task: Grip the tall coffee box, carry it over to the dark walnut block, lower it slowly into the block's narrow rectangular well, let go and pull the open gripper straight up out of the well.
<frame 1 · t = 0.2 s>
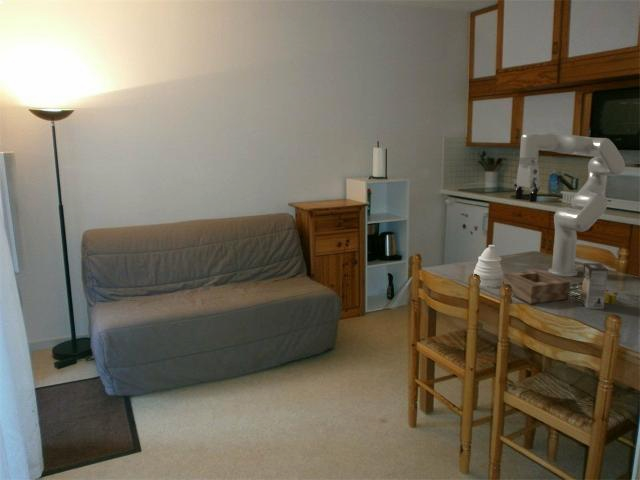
hand: (525, 200, 232), 37 cm above the table, tool pointing down, fingers open, 9 cm apart
coffee box: (591, 305, 204), on the table
honey pot: (487, 283, 234), on the table
well block: (534, 296, 215), on the table
medication box: (602, 300, 210), on the table
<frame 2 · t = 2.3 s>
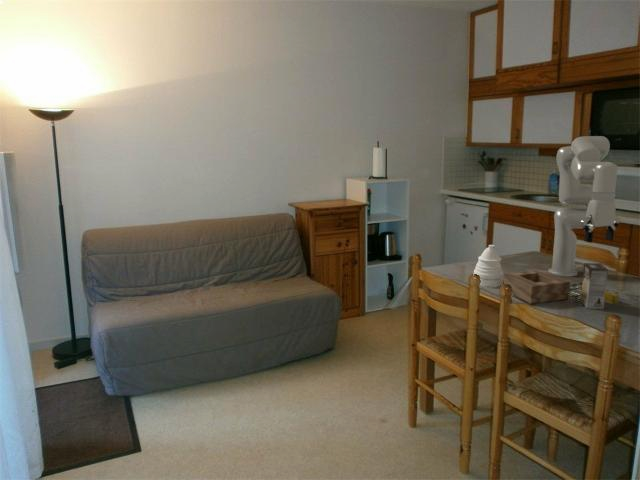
hand: (598, 240, 198), 26 cm above the table, tool pointing down, fingers open, 9 cm apart
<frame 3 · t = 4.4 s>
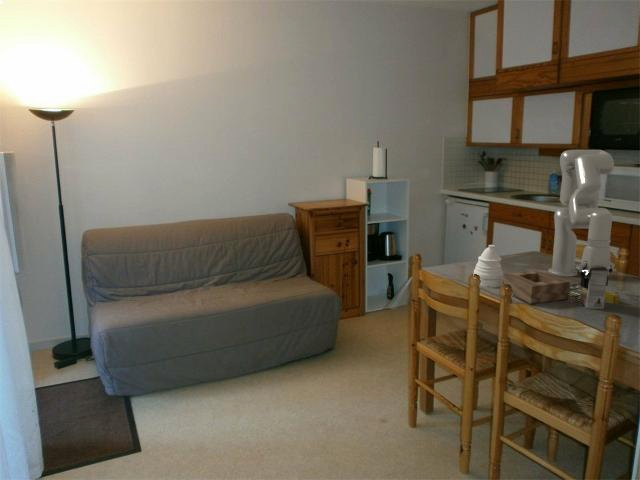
hand: (593, 286, 202), 8 cm above the table, tool pointing down, fingers closed on coffee box, 8 cm apart
coffee box: (591, 305, 204), on the table, touching gripper
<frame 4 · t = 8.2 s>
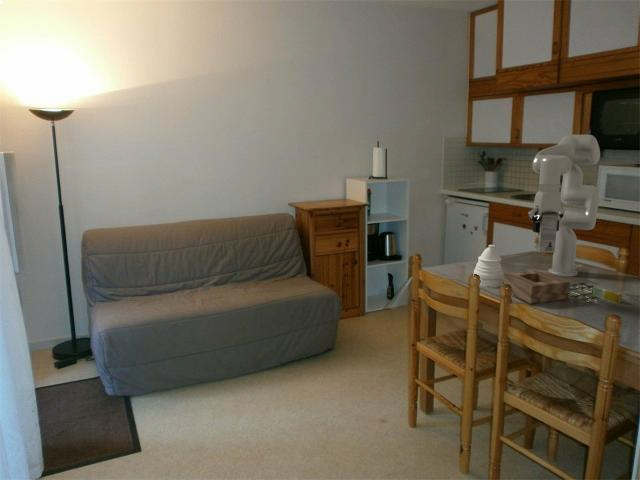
hand: (545, 231, 208), 28 cm above the table, tool pointing down, fingers closed on coffee box, 8 cm apart
coffee box: (544, 250, 210), point 20 cm above the table, touching gripper
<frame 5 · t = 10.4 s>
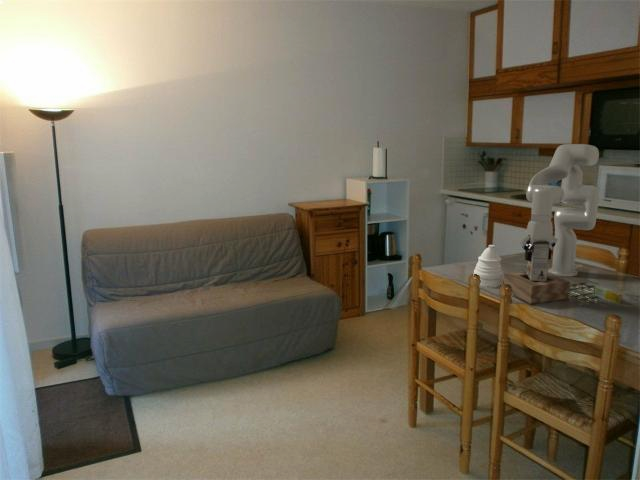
hand: (537, 259, 212), 16 cm above the table, tool pointing down, fingers closed on coffee box, 8 cm apart
coffee box: (536, 278, 214), point 8 cm above the table, touching gripper
when the fingers open (10 cm above the table, at t = 12.2 s): coffee box drops 1 cm, resting on well block.
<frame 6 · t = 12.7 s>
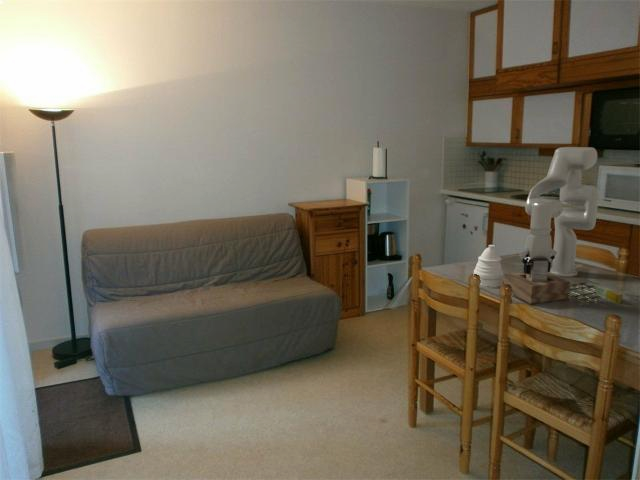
hand: (536, 272, 213), 10 cm above the table, tool pointing down, fingers open, 9 cm apart
coffee box: (535, 294, 215), point 1 cm above the table, touching well block
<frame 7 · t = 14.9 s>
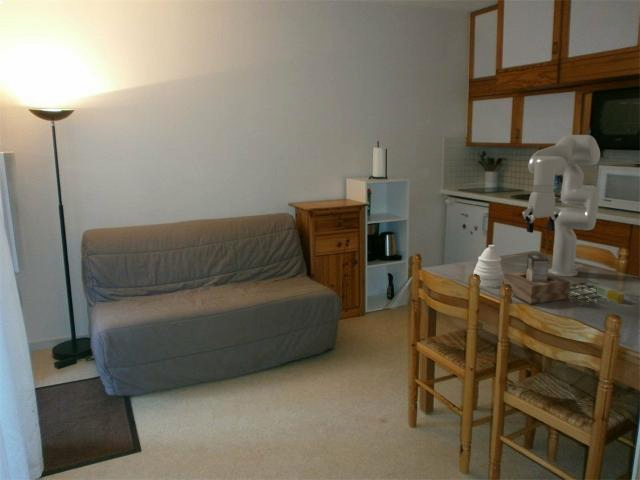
hand: (540, 231, 209), 28 cm above the table, tool pointing down, fingers open, 9 cm apart
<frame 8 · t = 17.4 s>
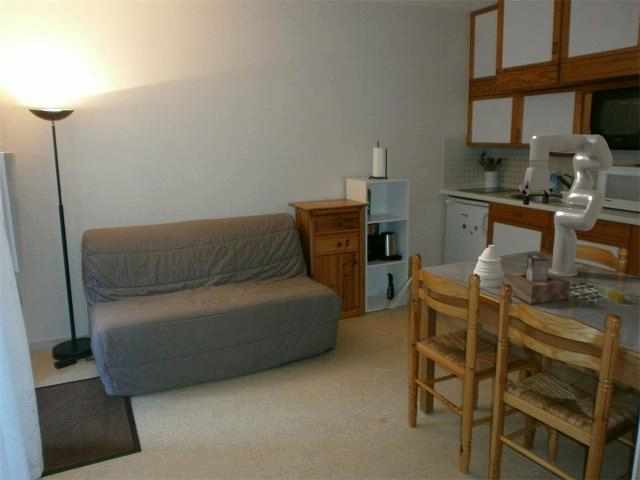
hand: (535, 204, 223), 36 cm above the table, tool pointing down, fingers open, 9 cm apart
at the end: coffee box 0.1 cm off-centre on the well block, point 0.8 cm above the well block's base; coffee box tilted 0°; the gripper is holding nothing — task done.
